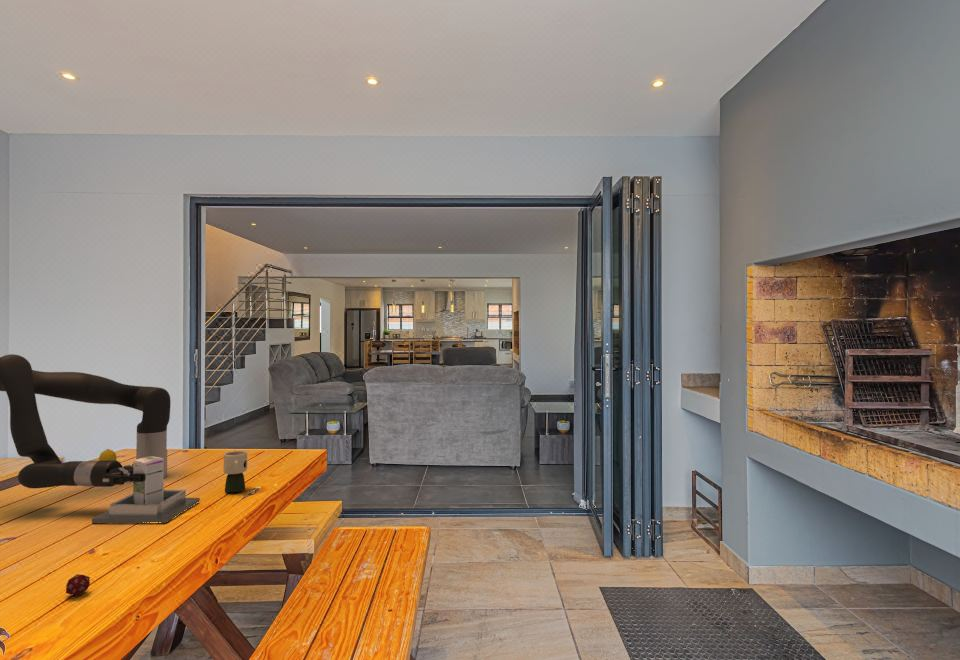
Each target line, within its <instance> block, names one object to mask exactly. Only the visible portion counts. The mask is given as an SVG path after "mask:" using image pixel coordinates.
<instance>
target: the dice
mask: <svg viewBox="0 0 960 660" xmlns="http://www.w3.org/2000/svg"><path fill="white" fill-rule="evenodd" d="M90 582H91V580H90V576H88V575H85V574H78V573H77V574H75V575H74V576H73V577H71V578H69V579H68V581H67V583H66V585H65V593H66V594H68V595H72V594H73V595H72V596H77V597H78V596H79V597H80V596H81V595H82V594H83V593H85V592H86V591H88V588H89V587H90V585H91V583H90Z"/></svg>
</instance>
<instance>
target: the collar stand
mask: <svg viewBox="0 0 960 660" xmlns="http://www.w3.org/2000/svg"><path fill="white" fill-rule="evenodd" d="M163 491H164V492H163V502H161V503H159V504H133V493H131V494H129V495H126V496H125V497H123V498H120V499H118V500H116V501H114V502H112V503H110V504H109V506H108V507H109V509H108V510H106V511H105V512H103V513H101V514H98V515H97V516H94V517H92V518H91V524H92V523H143V522H144V523H145V522H146V523H147V522H149V523H150V522H158V523H159V522H161V523H166V522H167V521H169V520H171V519H172V518H174V517H175V516H177V515H178V514H179V513H181V512H183V511H184V510H186V509H188V508H189V507H191V506H193V505H194V504H196V503H197V502H199V501H200V502H201V500H200V499H201V498H200V497H186V489H163ZM193 507H194V506H193ZM177 517H178V516H177ZM174 519H175V518H174ZM171 521H172V520H171ZM169 522H170V521H169ZM166 524H167V523H166Z"/></svg>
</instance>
